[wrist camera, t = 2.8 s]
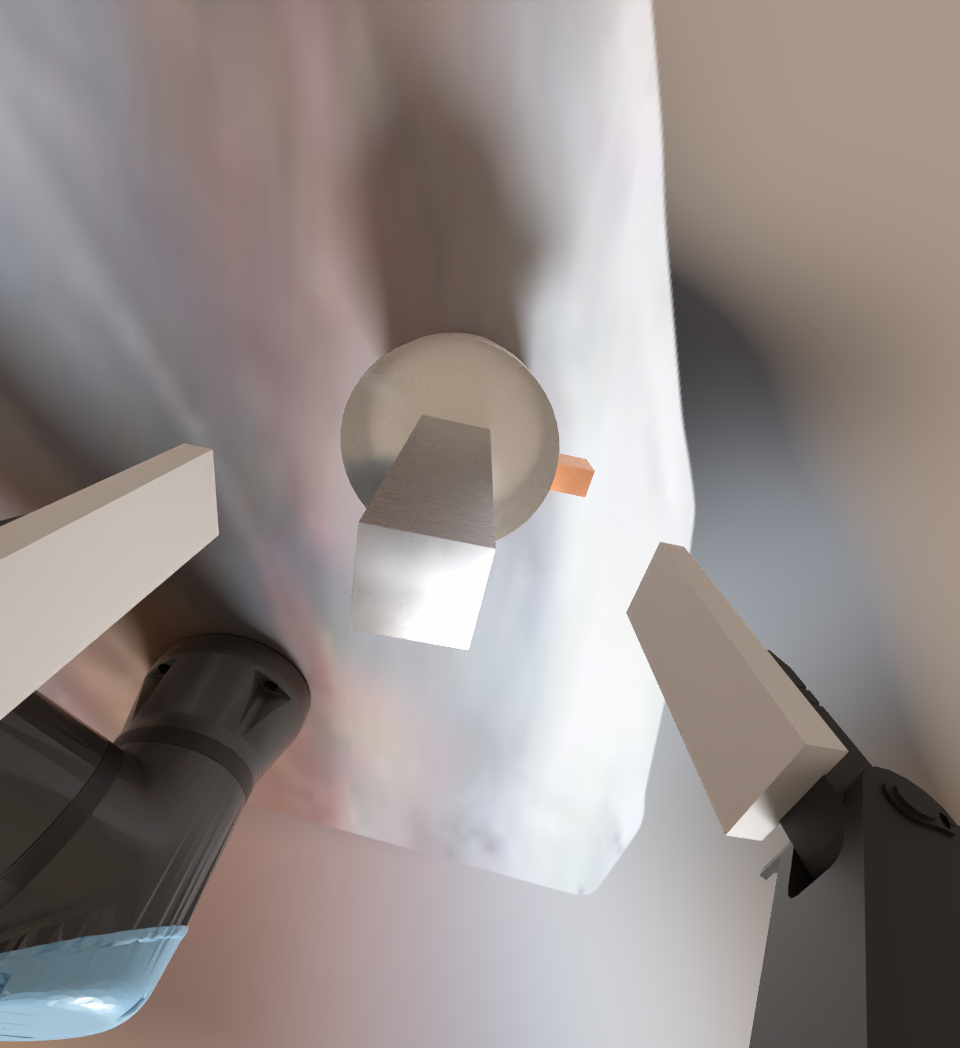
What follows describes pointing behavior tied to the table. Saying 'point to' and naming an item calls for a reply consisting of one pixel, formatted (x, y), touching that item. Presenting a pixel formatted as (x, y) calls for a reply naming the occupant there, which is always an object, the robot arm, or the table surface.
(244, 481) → the table surface
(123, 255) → the table surface
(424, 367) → the lid
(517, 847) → the table surface
